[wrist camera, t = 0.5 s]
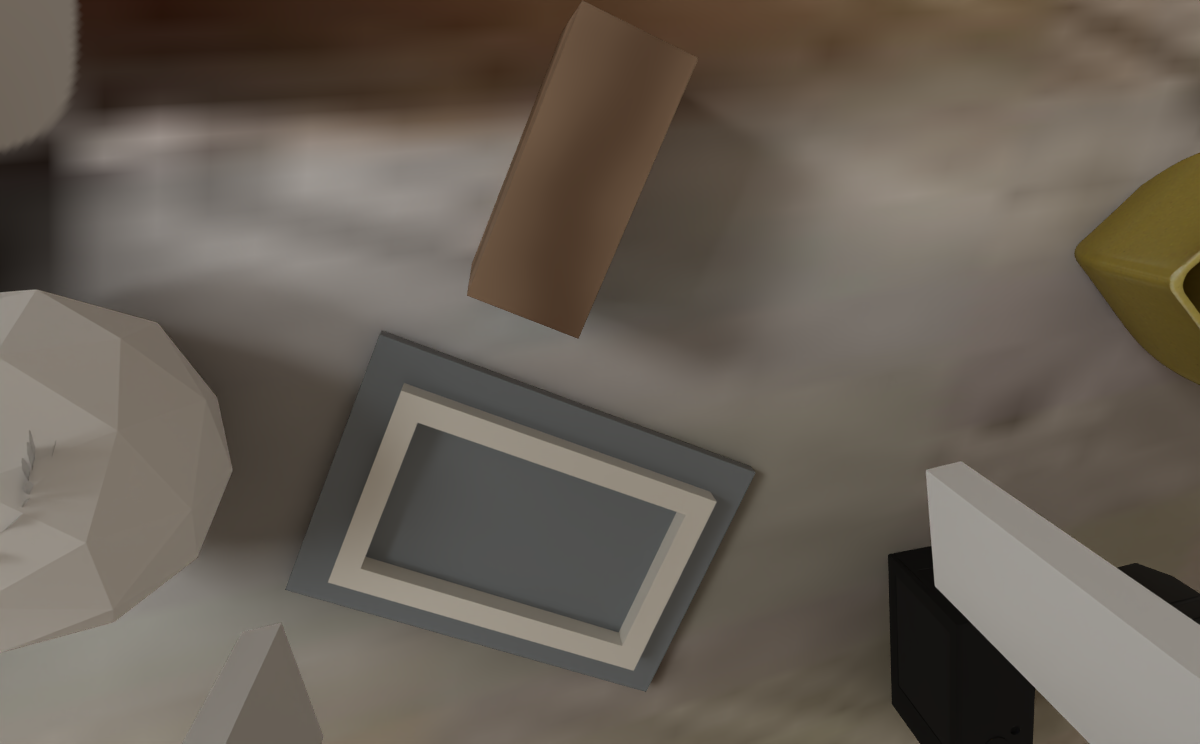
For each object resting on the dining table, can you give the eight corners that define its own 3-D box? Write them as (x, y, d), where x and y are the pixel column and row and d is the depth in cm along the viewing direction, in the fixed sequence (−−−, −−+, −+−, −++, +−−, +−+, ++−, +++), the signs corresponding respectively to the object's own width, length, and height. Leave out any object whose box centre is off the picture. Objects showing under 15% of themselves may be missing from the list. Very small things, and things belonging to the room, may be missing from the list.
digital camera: (976, 686, 48) (1054, 774, 41) (891, 704, 47) (957, 796, 41) (978, 535, 45) (1063, 604, 38) (887, 553, 44) (958, 626, 38)
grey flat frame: (289, 581, 40) (279, 603, 38) (382, 330, 37) (376, 340, 35) (643, 682, 44) (650, 706, 42) (750, 466, 41) (763, 482, 40)
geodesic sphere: (23, 127, 28) (-437, 403, 18) (353, 360, 31) (110, 687, 22) (-4, 321, 37) (-312, 565, 28) (249, 481, 41) (52, 743, 32)
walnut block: (471, 263, 37) (466, 295, 29) (562, 31, 34) (582, 0, 27) (560, 299, 38) (578, 338, 30) (653, 76, 35) (698, 57, 28)
